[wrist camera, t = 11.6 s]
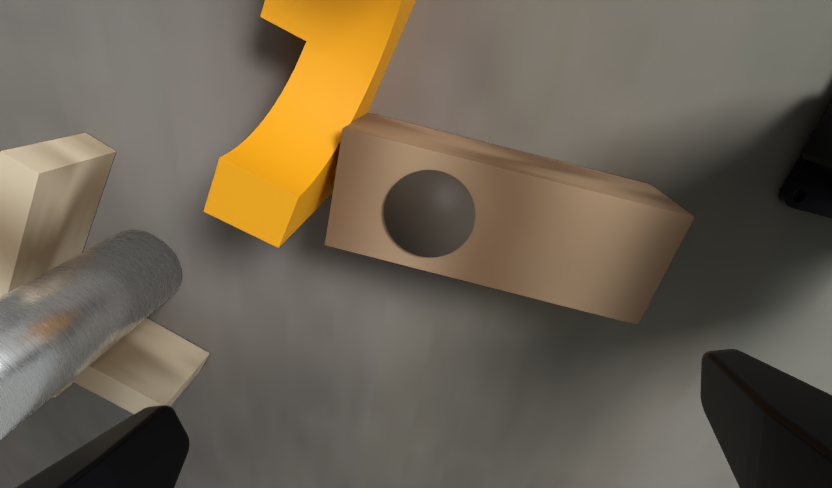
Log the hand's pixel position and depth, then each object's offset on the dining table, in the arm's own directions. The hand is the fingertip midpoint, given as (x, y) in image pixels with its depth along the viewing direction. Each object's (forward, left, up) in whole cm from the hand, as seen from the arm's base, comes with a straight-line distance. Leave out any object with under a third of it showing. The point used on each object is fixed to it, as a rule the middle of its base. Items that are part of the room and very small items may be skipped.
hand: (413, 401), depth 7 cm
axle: (+14, +8, -13) cm, 21 cm away
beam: (-2, 0, -13) cm, 13 cm away
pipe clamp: (+6, -5, -13) cm, 15 cm away
